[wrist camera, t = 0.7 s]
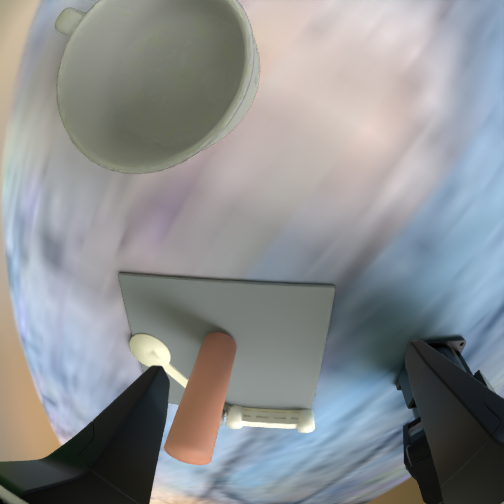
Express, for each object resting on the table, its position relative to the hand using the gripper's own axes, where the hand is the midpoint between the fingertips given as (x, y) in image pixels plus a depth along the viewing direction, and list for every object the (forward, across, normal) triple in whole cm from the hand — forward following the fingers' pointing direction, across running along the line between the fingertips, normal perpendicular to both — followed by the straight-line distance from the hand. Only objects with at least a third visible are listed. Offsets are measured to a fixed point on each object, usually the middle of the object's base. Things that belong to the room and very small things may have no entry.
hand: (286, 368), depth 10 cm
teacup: (+14, +6, -13) cm, 20 cm away
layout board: (+12, +6, +12) cm, 18 cm away
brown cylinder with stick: (+12, +7, +14) cm, 19 cm away
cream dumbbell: (+12, +3, +20) cm, 23 cm away
